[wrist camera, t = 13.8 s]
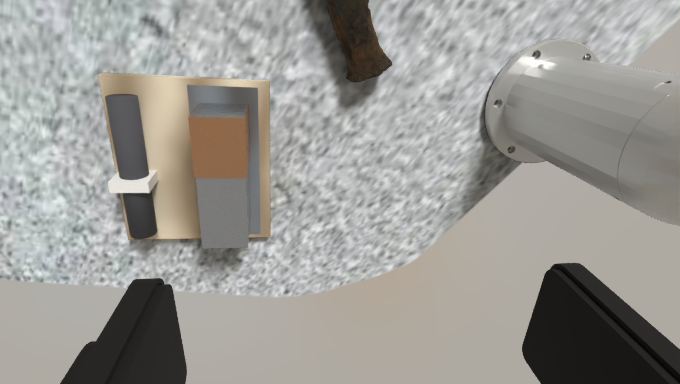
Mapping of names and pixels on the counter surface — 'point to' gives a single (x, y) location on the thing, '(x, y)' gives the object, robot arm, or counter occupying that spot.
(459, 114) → the counter surface
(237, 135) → the grey and copper block
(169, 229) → the board
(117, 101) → the rod
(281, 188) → the counter surface
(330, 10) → the hand tool
